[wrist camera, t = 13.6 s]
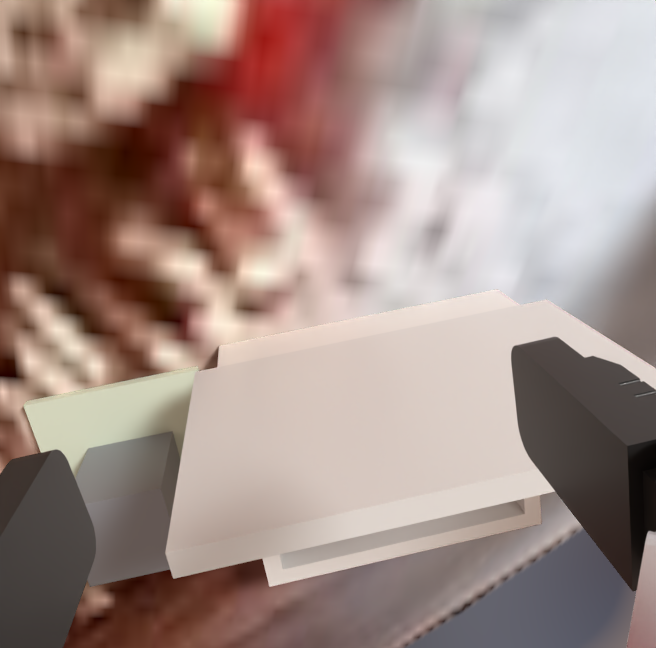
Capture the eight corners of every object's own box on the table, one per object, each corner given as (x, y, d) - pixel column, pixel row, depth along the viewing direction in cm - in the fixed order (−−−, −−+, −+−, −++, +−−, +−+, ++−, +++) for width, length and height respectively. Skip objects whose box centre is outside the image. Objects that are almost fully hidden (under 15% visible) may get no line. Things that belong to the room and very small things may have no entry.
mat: (197, 366, 37) (197, 370, 37) (240, 531, 41) (240, 536, 41) (26, 401, 36) (23, 405, 36) (87, 565, 41) (85, 571, 40)
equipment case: (512, 277, 38) (742, 423, 21) (525, 479, 43) (719, 732, 26) (200, 341, 37) (165, 553, 19) (251, 541, 42) (260, 852, 24)
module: (172, 431, 38) (160, 488, 32) (191, 500, 39) (183, 566, 34) (88, 448, 37) (61, 509, 32) (111, 517, 39) (90, 586, 33)
